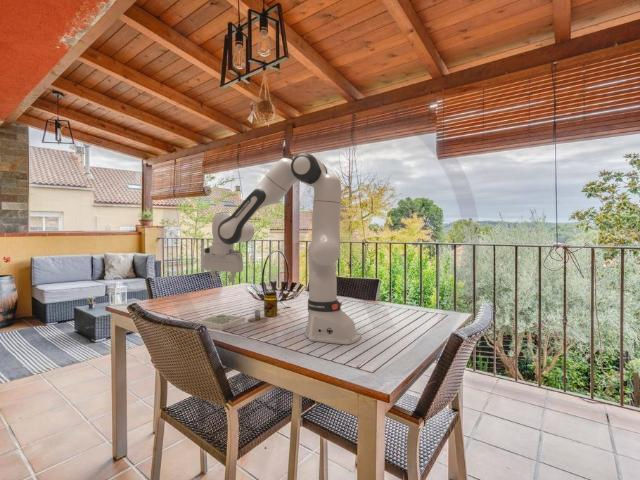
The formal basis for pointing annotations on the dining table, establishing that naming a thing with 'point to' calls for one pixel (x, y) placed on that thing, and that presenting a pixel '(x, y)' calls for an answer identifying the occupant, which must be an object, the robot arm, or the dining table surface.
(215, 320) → the ring
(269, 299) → the condiment
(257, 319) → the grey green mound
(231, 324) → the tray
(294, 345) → the dining table surface
